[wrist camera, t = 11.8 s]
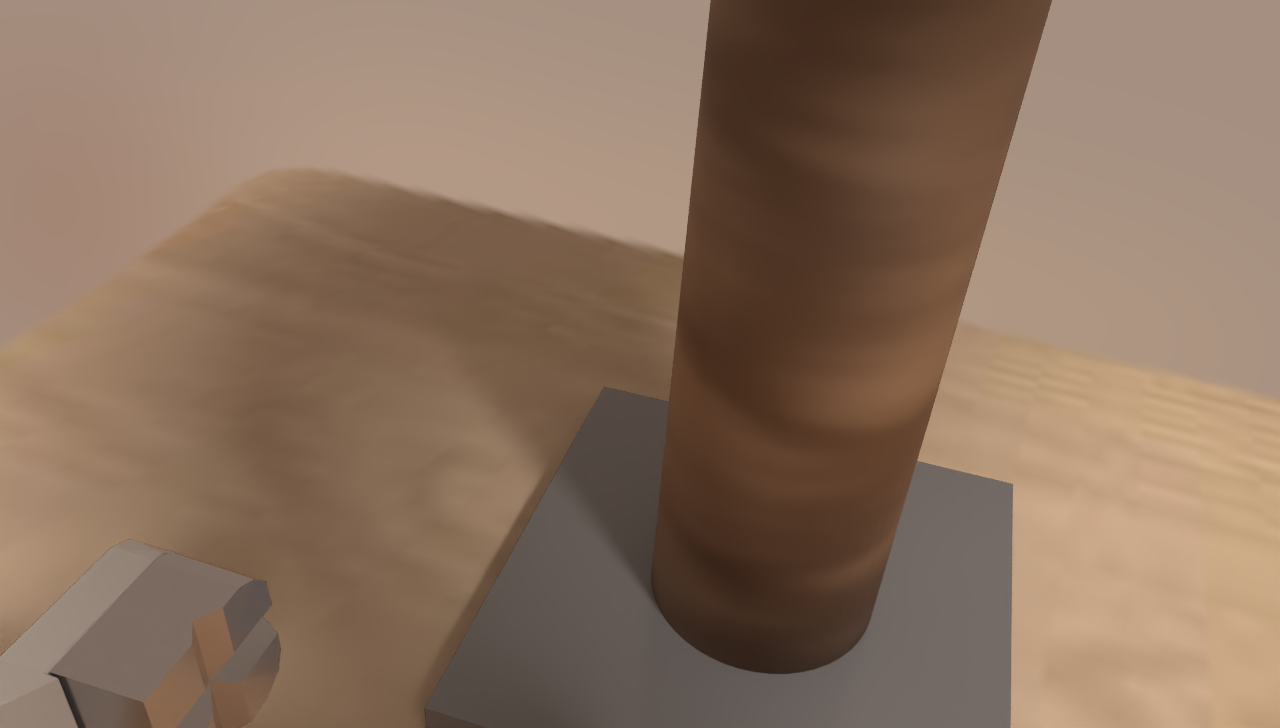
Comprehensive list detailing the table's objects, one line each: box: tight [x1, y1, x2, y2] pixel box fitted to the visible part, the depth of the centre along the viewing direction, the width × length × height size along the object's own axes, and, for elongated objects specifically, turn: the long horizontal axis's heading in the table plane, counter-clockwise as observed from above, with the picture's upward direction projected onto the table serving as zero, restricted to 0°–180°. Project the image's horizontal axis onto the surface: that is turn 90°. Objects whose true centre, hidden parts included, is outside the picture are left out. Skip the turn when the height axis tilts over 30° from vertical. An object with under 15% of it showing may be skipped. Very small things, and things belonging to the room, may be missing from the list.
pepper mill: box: [651, 0, 1052, 674], centre depth 20 cm, size 5×5×18 cm
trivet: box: [425, 387, 1013, 728], centre depth 26 cm, size 12×12×1 cm
